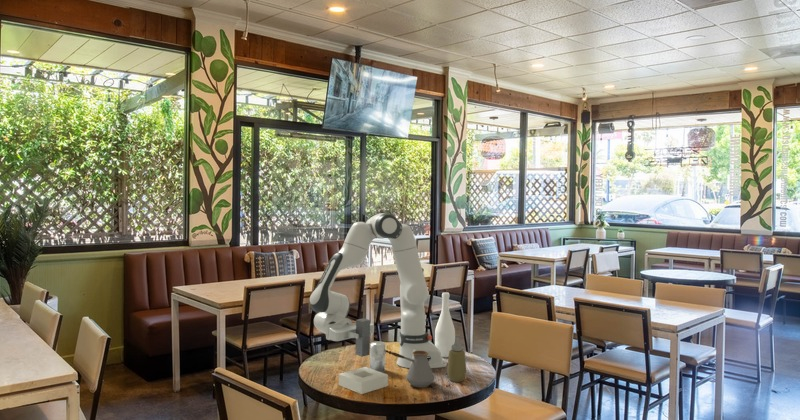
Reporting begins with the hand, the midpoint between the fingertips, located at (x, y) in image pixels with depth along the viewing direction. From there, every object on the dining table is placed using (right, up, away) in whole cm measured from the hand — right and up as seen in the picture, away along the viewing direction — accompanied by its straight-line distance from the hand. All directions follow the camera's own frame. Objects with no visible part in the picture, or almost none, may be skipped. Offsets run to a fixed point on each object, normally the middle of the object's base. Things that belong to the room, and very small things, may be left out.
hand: (364, 335), depth 224 cm
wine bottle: (+36, -20, +46) cm, 61 cm away
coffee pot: (+18, -21, +2) cm, 27 cm away
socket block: (0, -20, +1) cm, 20 cm away
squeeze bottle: (+38, -21, +9) cm, 44 cm away
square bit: (-1, -8, +1) cm, 8 cm away
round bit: (+4, -20, +20) cm, 29 cm away
